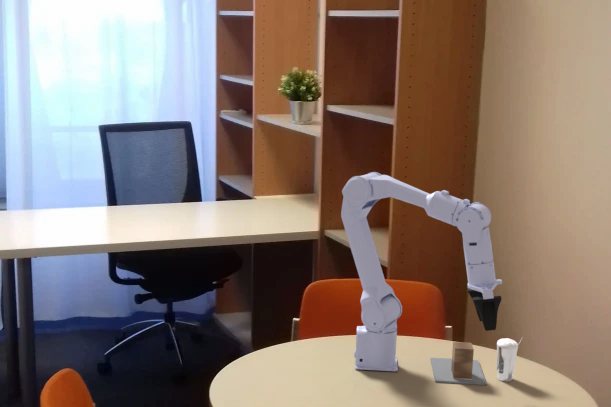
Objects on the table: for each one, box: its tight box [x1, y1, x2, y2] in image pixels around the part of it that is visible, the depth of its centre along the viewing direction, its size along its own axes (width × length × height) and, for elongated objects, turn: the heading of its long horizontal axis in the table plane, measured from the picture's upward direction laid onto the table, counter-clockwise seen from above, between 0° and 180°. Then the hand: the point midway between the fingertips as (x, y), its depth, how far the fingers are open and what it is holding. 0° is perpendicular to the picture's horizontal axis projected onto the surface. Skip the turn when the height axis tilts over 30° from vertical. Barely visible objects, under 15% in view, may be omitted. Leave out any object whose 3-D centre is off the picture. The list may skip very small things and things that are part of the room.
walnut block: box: [451, 341, 475, 380], centre depth 162 cm, size 4×4×7 cm
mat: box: [430, 357, 488, 386], centre depth 165 cm, size 11×13×1 cm
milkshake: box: [496, 336, 523, 383], centre depth 161 cm, size 4×5×10 cm
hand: (487, 325), depth 154 cm, fingers open, 7 cm apart
